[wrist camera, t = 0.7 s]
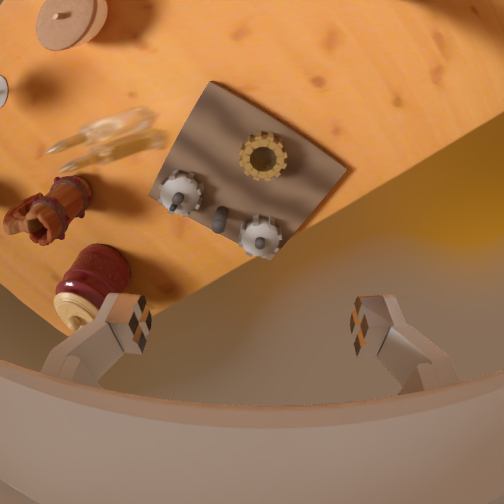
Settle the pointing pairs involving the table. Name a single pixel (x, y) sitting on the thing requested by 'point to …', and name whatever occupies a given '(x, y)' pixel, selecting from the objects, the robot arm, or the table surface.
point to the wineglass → (3, 91)
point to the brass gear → (263, 168)
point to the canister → (90, 284)
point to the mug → (49, 211)
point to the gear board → (242, 174)
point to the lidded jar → (69, 22)
